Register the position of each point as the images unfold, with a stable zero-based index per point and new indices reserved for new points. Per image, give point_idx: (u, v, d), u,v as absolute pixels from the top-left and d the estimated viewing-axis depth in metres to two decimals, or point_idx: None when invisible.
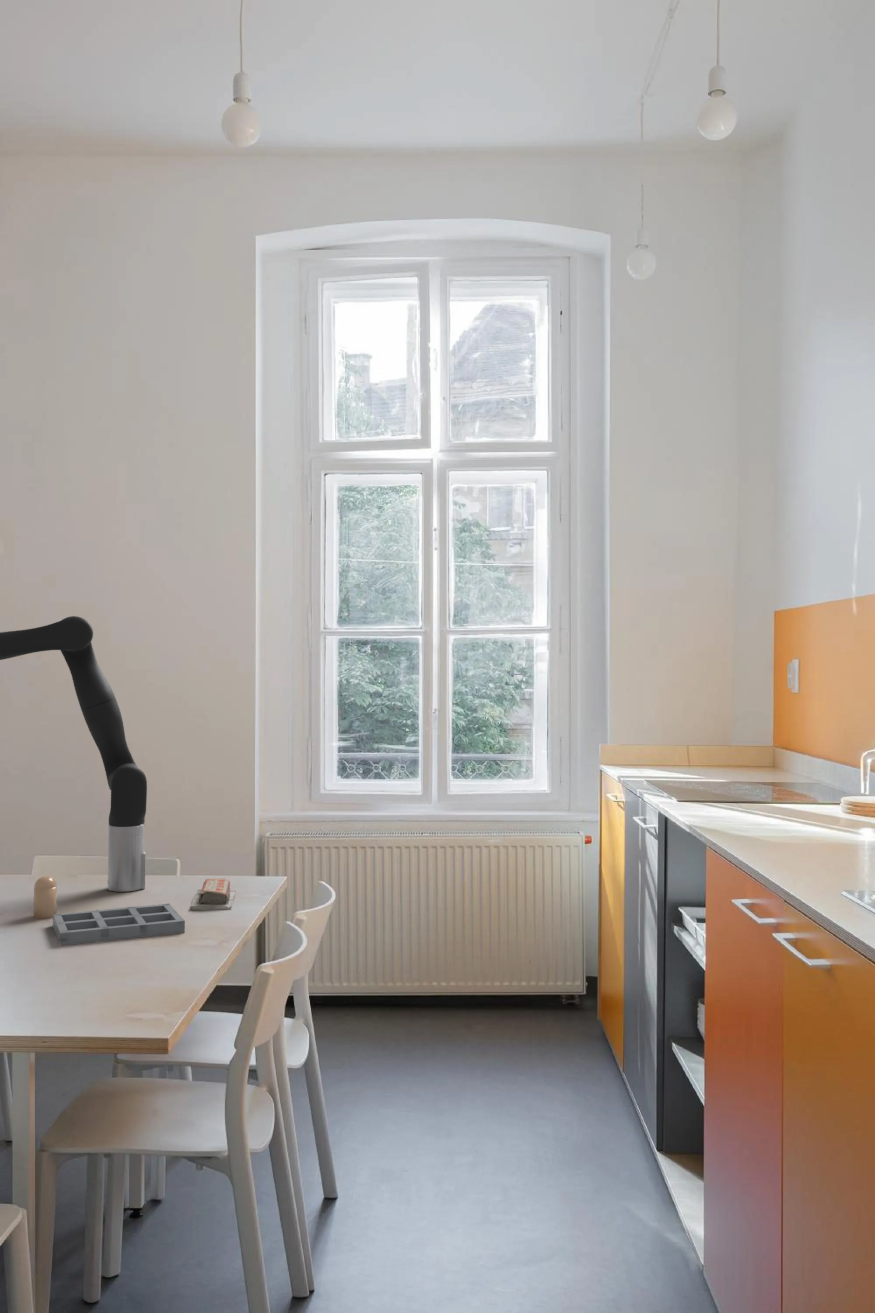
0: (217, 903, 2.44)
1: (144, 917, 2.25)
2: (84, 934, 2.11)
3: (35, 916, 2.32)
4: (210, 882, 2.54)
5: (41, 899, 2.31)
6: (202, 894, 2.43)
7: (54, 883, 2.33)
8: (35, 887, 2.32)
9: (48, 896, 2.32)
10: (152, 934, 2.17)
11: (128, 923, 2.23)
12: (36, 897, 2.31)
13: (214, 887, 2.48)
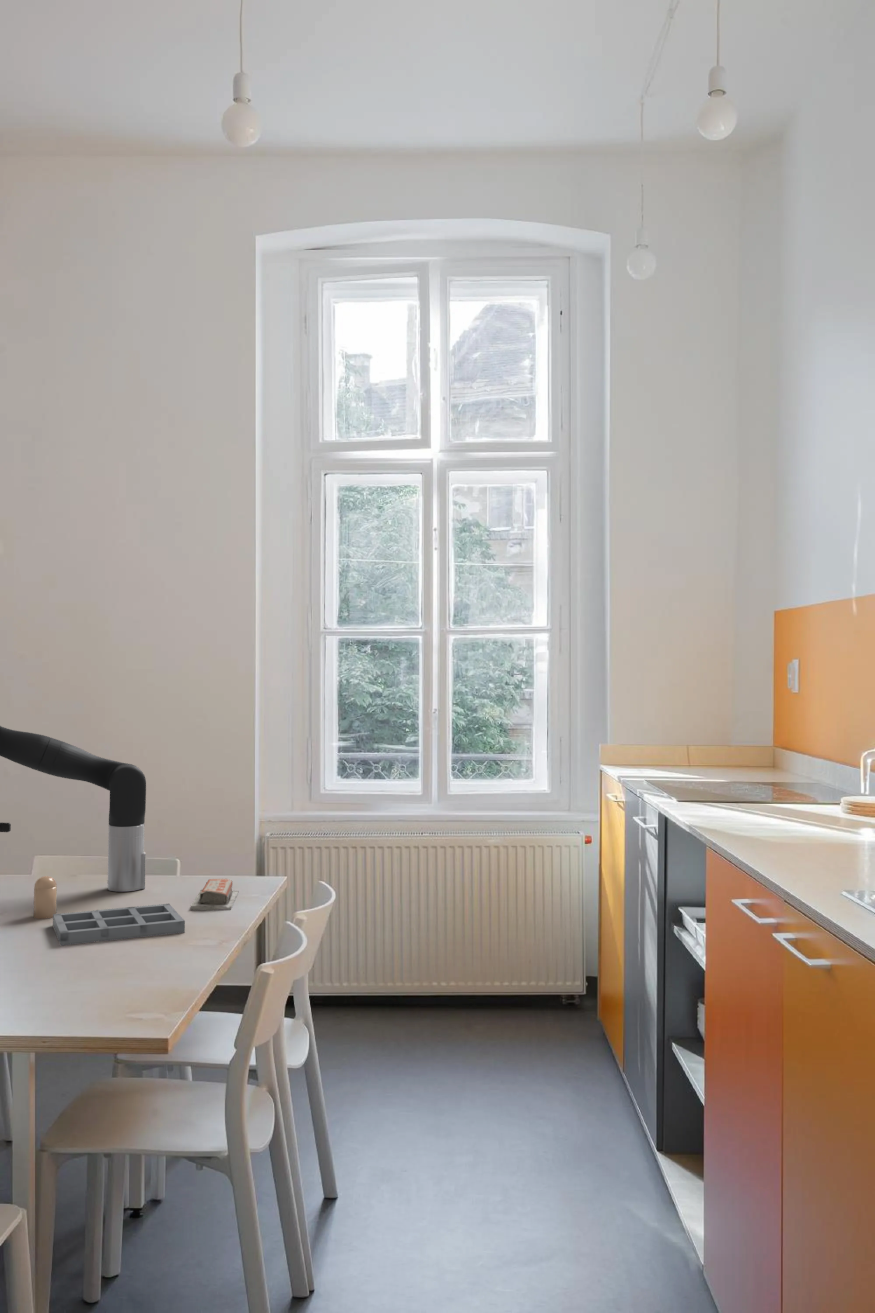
0: (217, 903, 2.44)
1: (144, 917, 2.25)
2: (84, 934, 2.11)
3: (35, 916, 2.32)
4: (212, 882, 2.54)
5: (41, 899, 2.31)
6: (202, 894, 2.43)
7: (54, 883, 2.33)
8: (35, 887, 2.32)
9: (48, 896, 2.32)
10: (152, 934, 2.17)
11: (128, 923, 2.23)
12: (36, 897, 2.31)
13: (215, 887, 2.48)
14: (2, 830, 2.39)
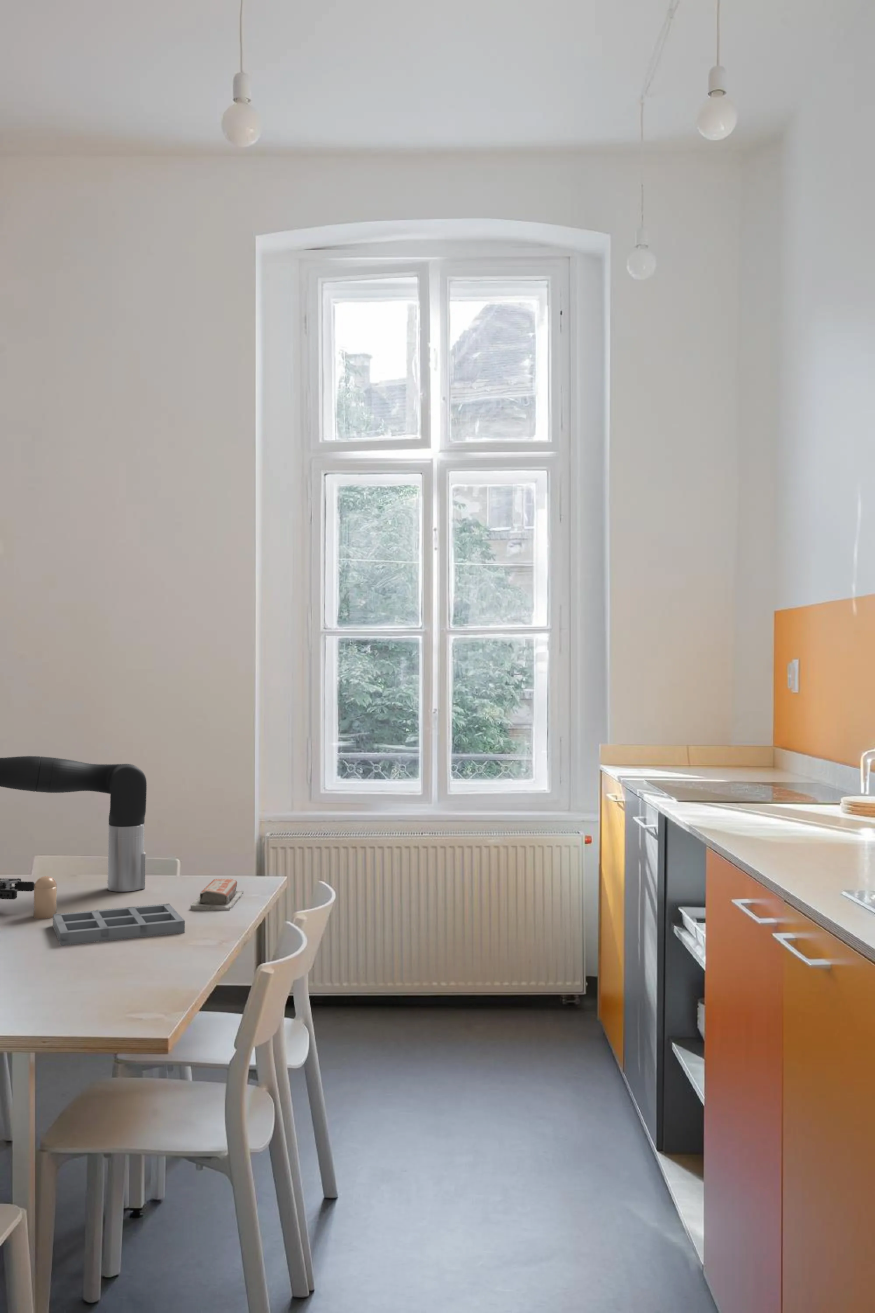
0: (217, 903, 2.44)
1: (144, 917, 2.25)
2: (84, 934, 2.11)
3: (35, 916, 2.32)
4: (216, 882, 2.54)
5: (41, 899, 2.31)
6: (202, 894, 2.43)
7: (54, 883, 2.33)
8: (35, 887, 2.32)
9: (48, 896, 2.32)
10: (152, 934, 2.17)
11: (128, 923, 2.23)
12: (36, 897, 2.31)
13: (216, 887, 2.48)
14: (26, 889, 2.38)
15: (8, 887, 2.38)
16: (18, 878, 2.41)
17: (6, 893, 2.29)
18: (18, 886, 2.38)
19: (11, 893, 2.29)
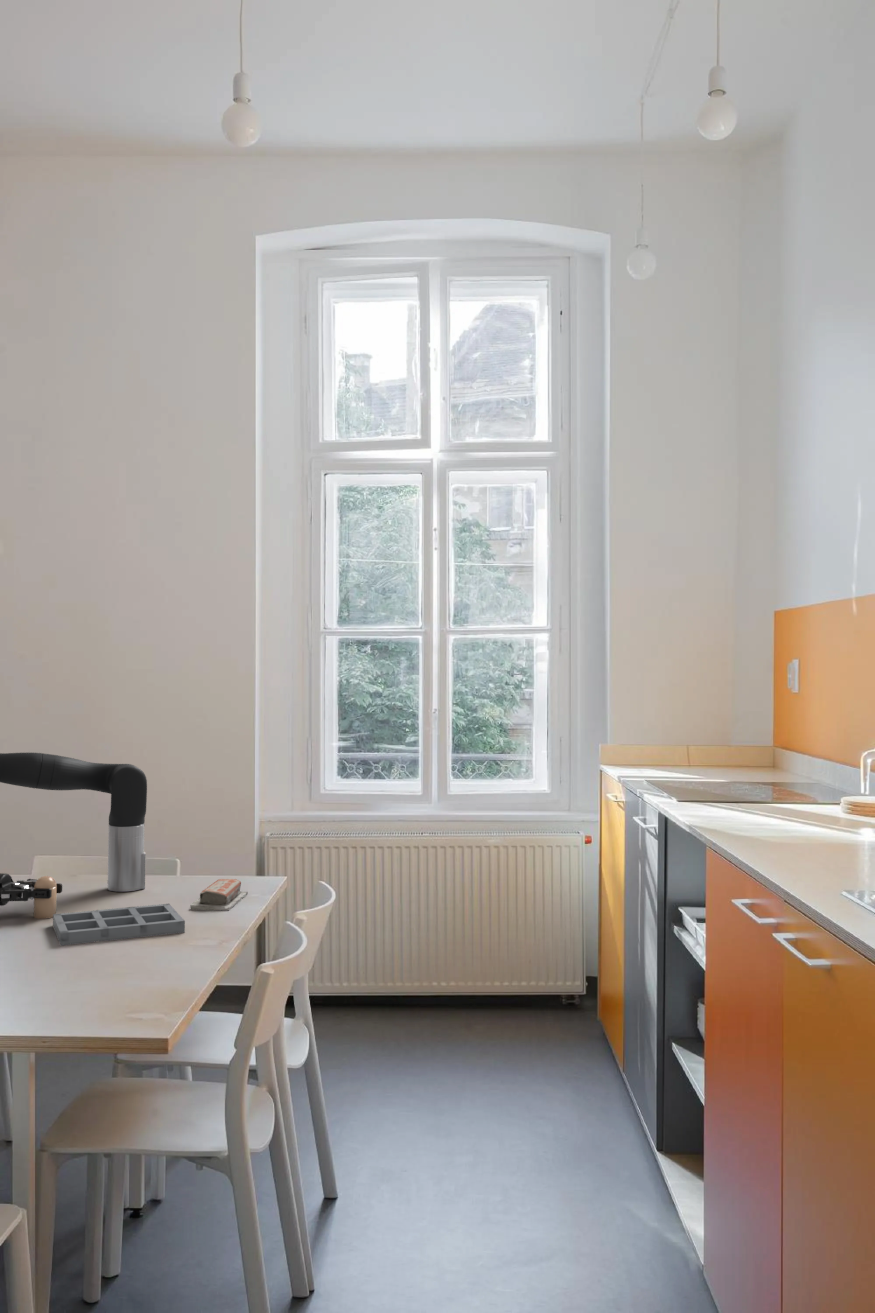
0: (217, 904, 2.43)
1: (144, 917, 2.25)
2: (84, 934, 2.11)
3: (35, 916, 2.32)
4: (219, 882, 2.54)
5: (41, 899, 2.31)
6: (202, 894, 2.43)
7: (54, 883, 2.33)
8: (35, 887, 2.32)
9: None
10: (152, 934, 2.17)
11: (128, 923, 2.23)
12: None
13: (218, 887, 2.48)
14: None
15: None
16: None
17: (40, 892, 2.30)
18: None
19: (46, 892, 2.30)
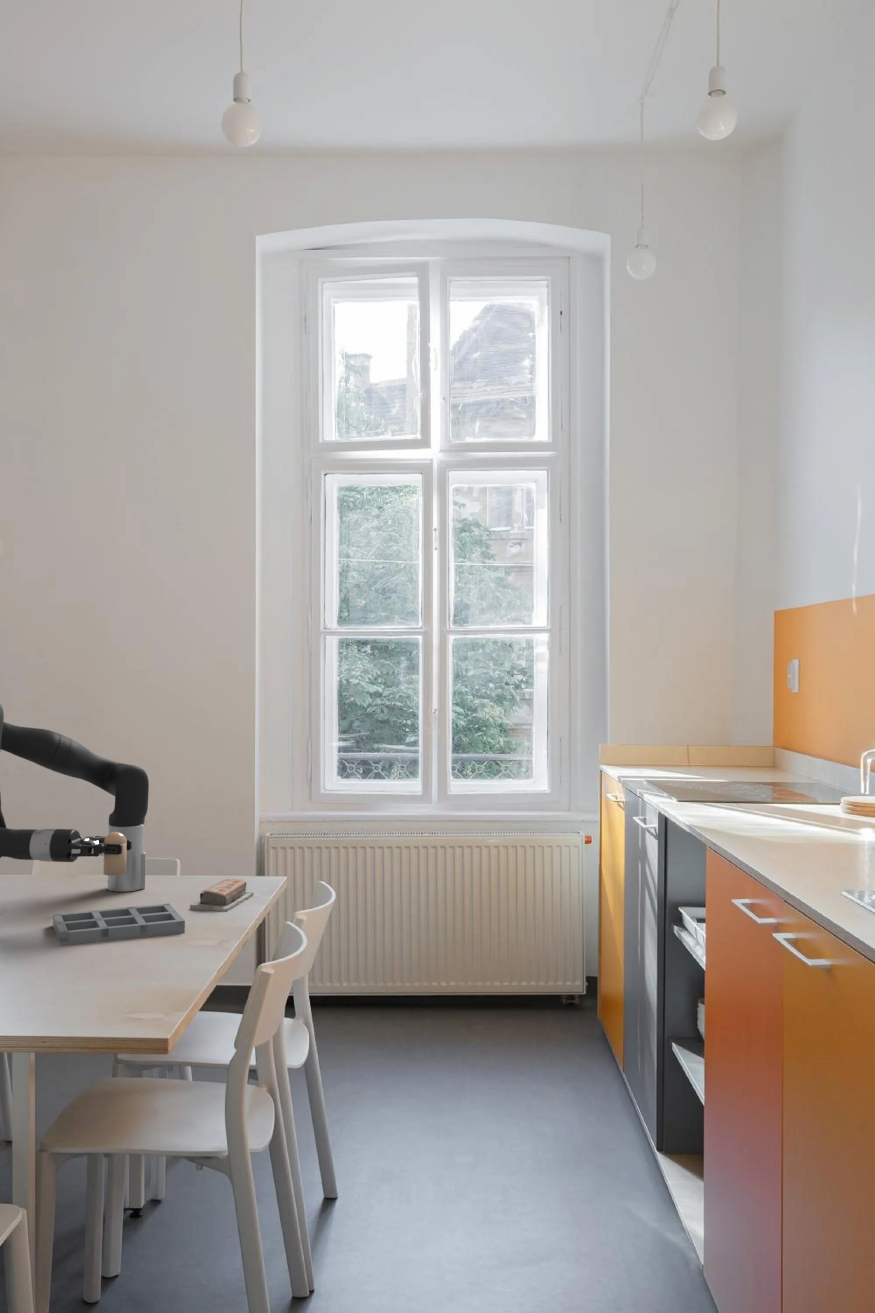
0: (217, 904, 2.43)
1: (144, 917, 2.25)
2: (84, 934, 2.11)
3: (105, 873, 2.25)
4: (223, 882, 2.54)
5: (111, 855, 2.24)
6: (202, 894, 2.43)
7: (124, 839, 2.26)
8: (105, 843, 2.25)
9: None
10: (152, 934, 2.17)
11: (128, 923, 2.23)
12: None
13: (219, 888, 2.47)
14: None
15: None
16: None
17: (111, 848, 2.23)
18: None
19: (117, 848, 2.23)
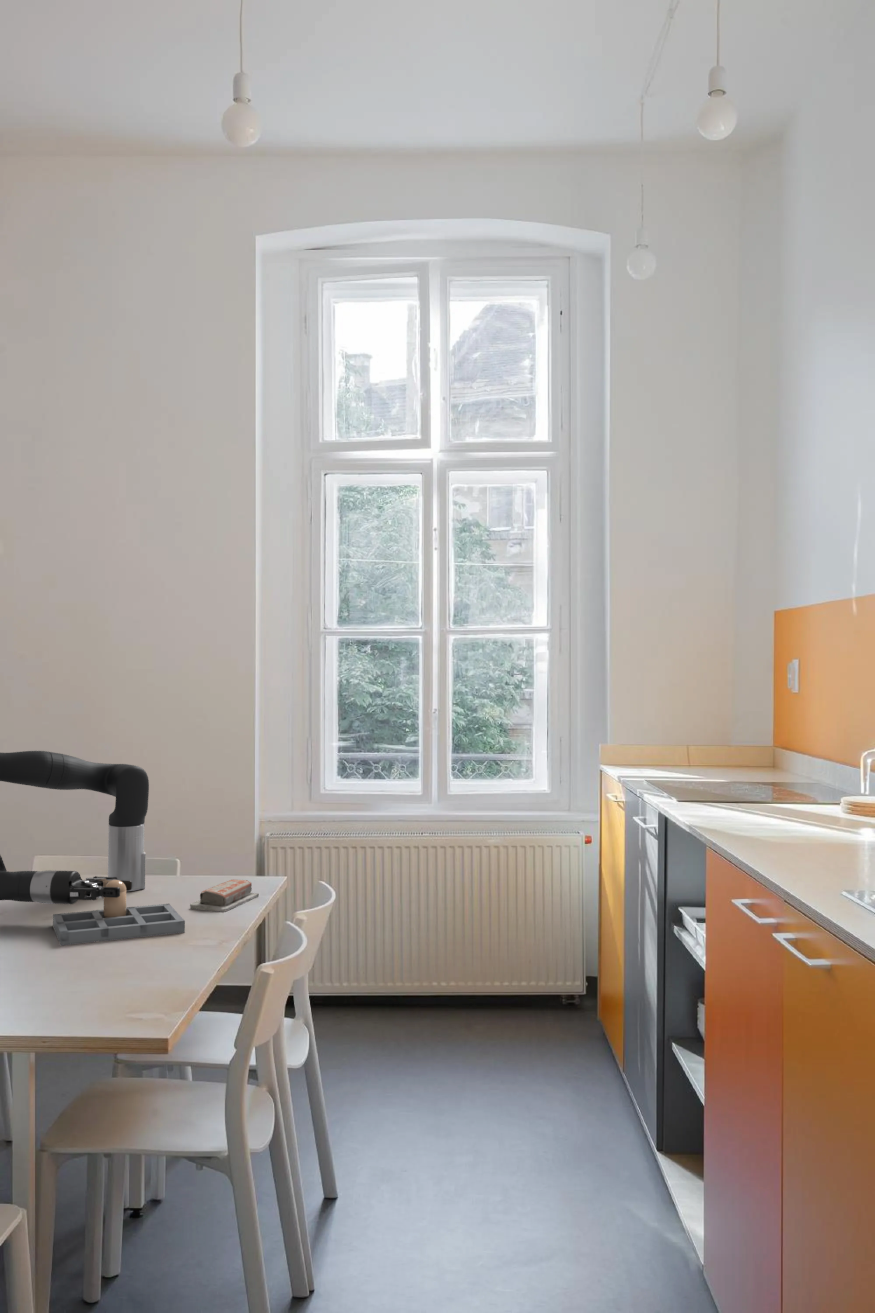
0: (216, 904, 2.43)
1: (144, 917, 2.25)
2: (84, 934, 2.11)
3: None
4: (228, 883, 2.53)
5: (111, 903, 2.24)
6: (202, 894, 2.43)
7: (124, 887, 2.26)
8: None
9: (118, 900, 2.24)
10: (152, 934, 2.17)
11: (128, 923, 2.23)
12: (106, 901, 2.24)
13: (221, 888, 2.47)
14: None
15: None
16: (114, 877, 2.33)
17: (109, 891, 2.22)
18: None
19: (114, 891, 2.22)
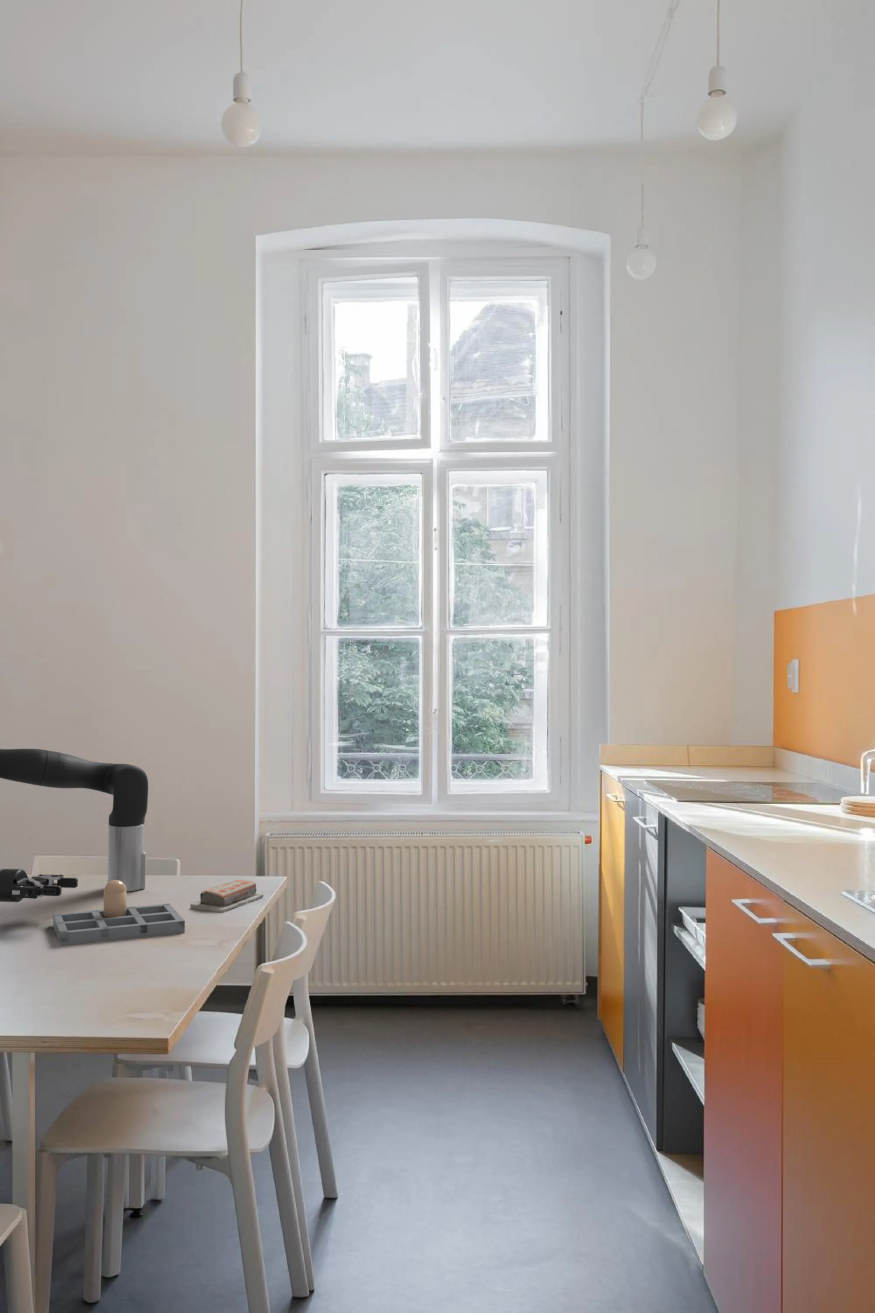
0: (216, 904, 2.42)
1: (144, 917, 2.25)
2: (84, 934, 2.11)
3: None
4: (231, 883, 2.53)
5: (111, 903, 2.24)
6: (202, 894, 2.43)
7: (124, 887, 2.26)
8: (105, 891, 2.25)
9: (118, 900, 2.24)
10: (152, 934, 2.17)
11: (128, 923, 2.23)
12: (107, 901, 2.24)
13: (222, 888, 2.47)
14: (69, 886, 2.31)
15: (51, 883, 2.31)
16: None
17: (50, 890, 2.22)
18: (60, 882, 2.32)
19: (56, 889, 2.22)
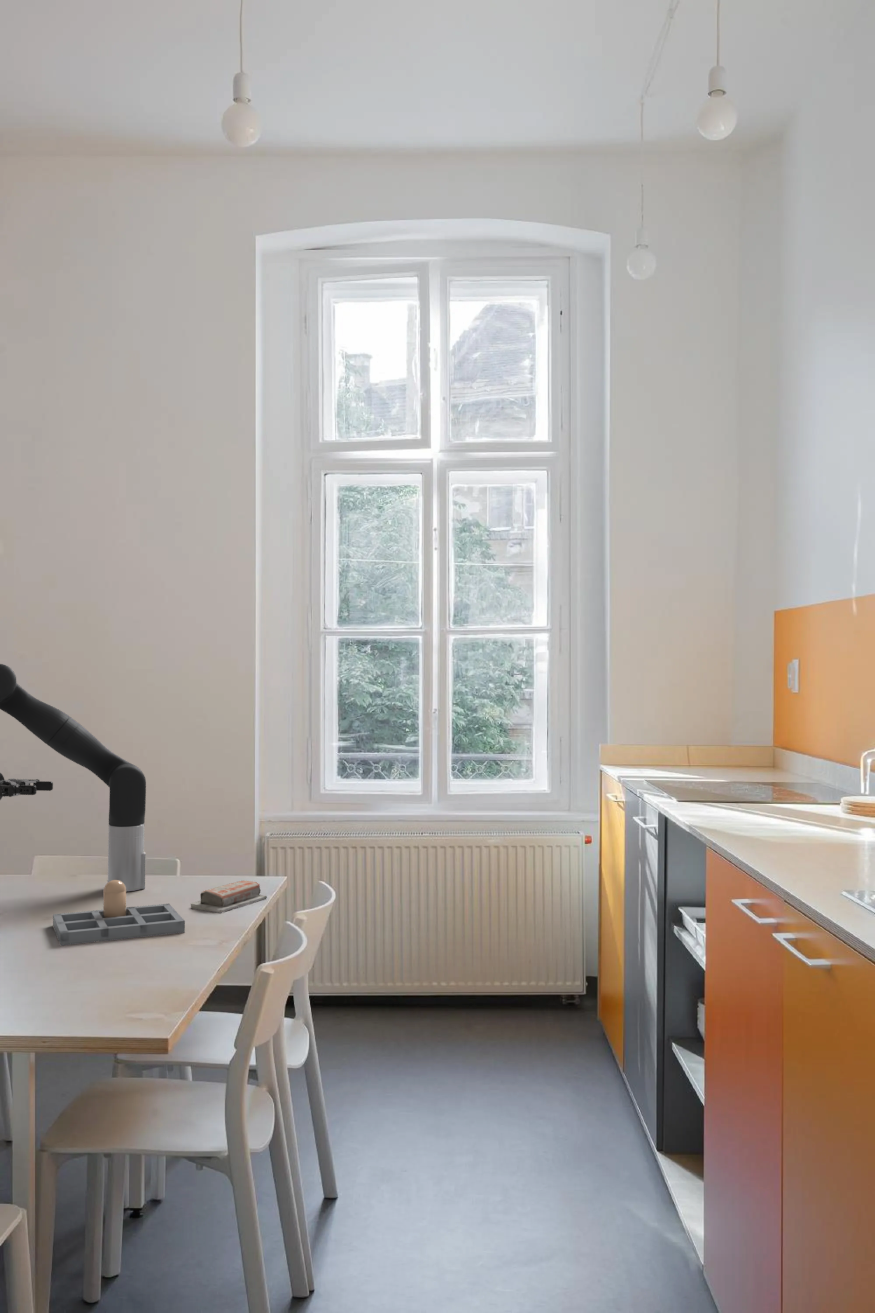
0: (215, 905, 2.42)
1: (144, 917, 2.25)
2: (84, 934, 2.11)
3: None
4: (235, 883, 2.53)
5: (111, 903, 2.24)
6: (202, 893, 2.43)
7: (124, 887, 2.26)
8: (105, 891, 2.25)
9: (118, 900, 2.24)
10: (152, 934, 2.17)
11: (128, 923, 2.23)
12: (106, 901, 2.24)
13: (223, 888, 2.46)
14: (45, 789, 2.42)
15: None
16: (36, 779, 2.45)
17: (25, 788, 2.32)
18: (36, 785, 2.42)
19: (31, 788, 2.33)
